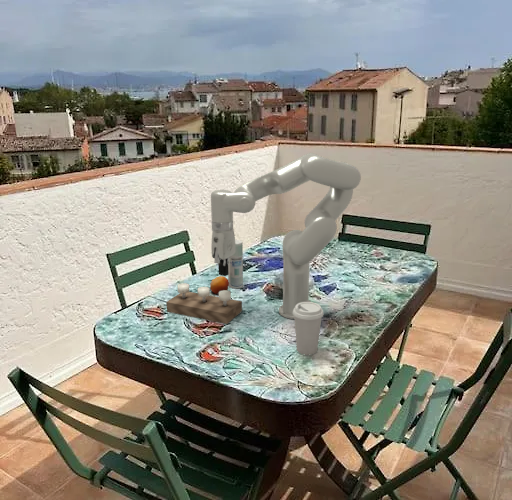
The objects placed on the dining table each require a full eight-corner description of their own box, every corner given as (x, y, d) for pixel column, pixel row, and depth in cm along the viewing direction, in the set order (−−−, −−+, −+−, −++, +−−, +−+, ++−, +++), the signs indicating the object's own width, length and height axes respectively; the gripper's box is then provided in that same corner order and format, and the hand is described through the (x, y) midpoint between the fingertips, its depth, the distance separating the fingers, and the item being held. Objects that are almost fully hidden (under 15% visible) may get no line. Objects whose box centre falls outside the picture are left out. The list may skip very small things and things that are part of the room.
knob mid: (212, 300, 174) (211, 287, 172) (206, 304, 170) (205, 291, 168) (202, 298, 175) (201, 285, 174) (196, 302, 172) (195, 290, 170)
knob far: (191, 296, 177) (191, 284, 176) (185, 300, 173) (184, 288, 172) (182, 294, 179) (181, 282, 177) (176, 299, 175) (175, 286, 174)
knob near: (233, 304, 170) (232, 291, 168) (227, 308, 166) (227, 295, 165) (222, 302, 172) (222, 289, 170) (216, 306, 168) (216, 293, 166)
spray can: (240, 282, 202) (240, 239, 196) (245, 287, 196) (244, 243, 190) (226, 284, 200) (225, 240, 195) (230, 289, 195) (229, 244, 189)
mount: (242, 311, 174) (241, 301, 173) (227, 324, 163) (226, 313, 162) (184, 300, 184) (183, 290, 183) (166, 311, 174) (166, 301, 173)
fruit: (230, 293, 186) (220, 277, 185) (215, 301, 189) (204, 285, 188) (235, 286, 194) (225, 270, 193) (220, 294, 197) (210, 278, 195)
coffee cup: (289, 343, 149) (290, 301, 145) (318, 342, 150) (320, 300, 146) (294, 358, 140) (295, 314, 136) (325, 357, 141) (327, 312, 137)
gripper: (221, 231, 152) (222, 283, 157) (241, 222, 165) (242, 270, 170) (202, 229, 155) (204, 280, 160) (223, 220, 168) (224, 267, 173)
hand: (223, 274), depth 165 cm, fingers closed
